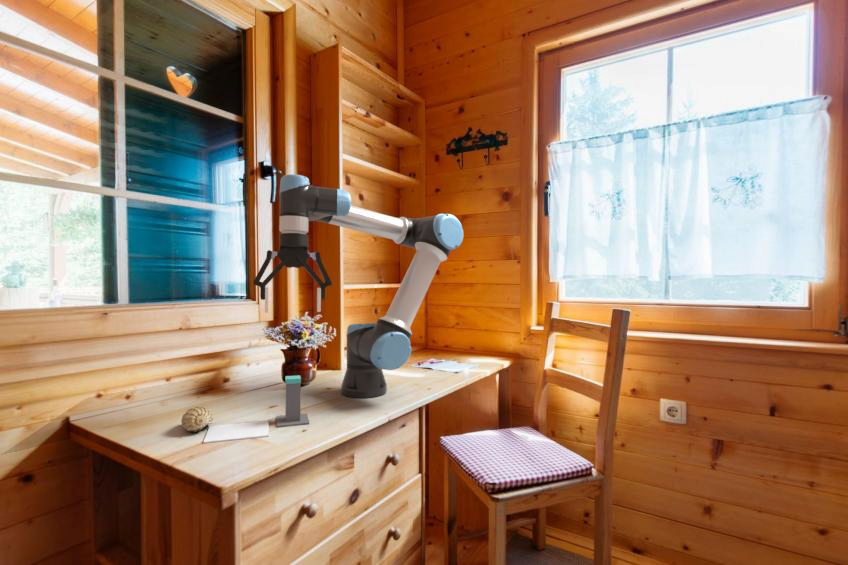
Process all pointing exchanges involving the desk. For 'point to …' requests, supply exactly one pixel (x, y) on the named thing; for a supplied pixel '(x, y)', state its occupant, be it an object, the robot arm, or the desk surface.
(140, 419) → the desk surface
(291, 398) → the marker
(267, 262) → the robot arm
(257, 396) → the desk surface
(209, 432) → the paper
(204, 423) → the seashell
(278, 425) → the coaster
